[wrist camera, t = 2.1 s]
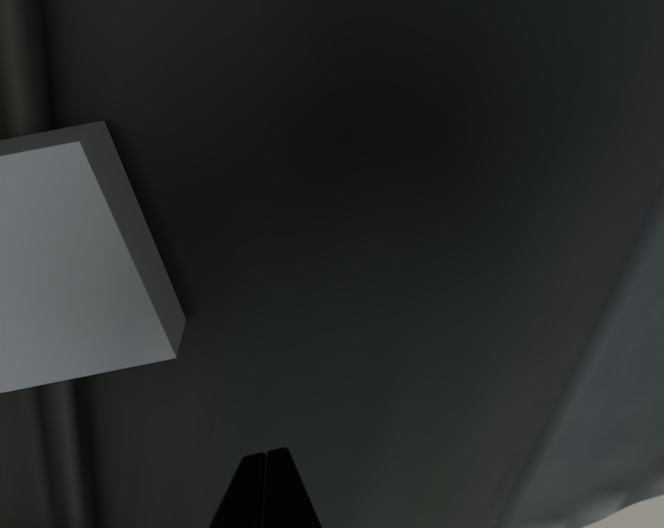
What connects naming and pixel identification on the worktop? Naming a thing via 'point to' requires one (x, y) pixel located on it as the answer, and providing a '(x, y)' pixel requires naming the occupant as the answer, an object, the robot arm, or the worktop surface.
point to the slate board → (77, 263)
